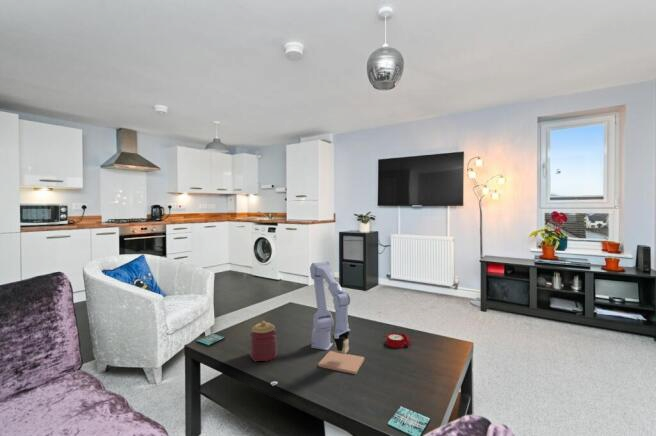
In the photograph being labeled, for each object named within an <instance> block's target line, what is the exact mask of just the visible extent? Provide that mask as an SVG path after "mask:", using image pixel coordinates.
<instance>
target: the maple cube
mask: <svg viewBox="0 0 656 436" xmlns="http://www.w3.org/2000/svg"><path fill="white" fill-rule="evenodd" d="M349 340H350V339H349V338H348V339H344V342H343V348H342V351H338V350H337V347H336V343H335V342H334V352H335V353H341V354H347V353H348V352H349V350H350V343H349Z"/></svg>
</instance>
